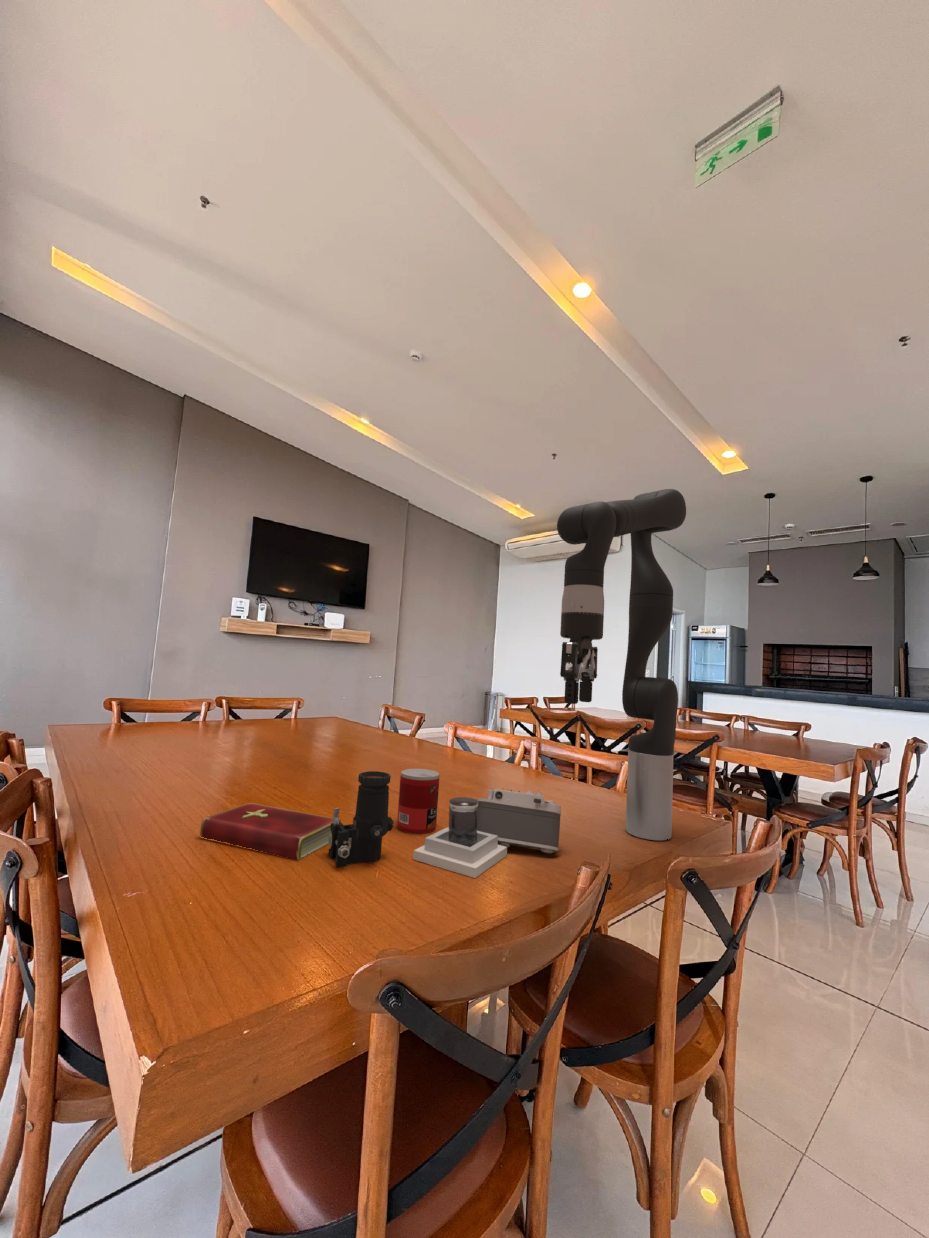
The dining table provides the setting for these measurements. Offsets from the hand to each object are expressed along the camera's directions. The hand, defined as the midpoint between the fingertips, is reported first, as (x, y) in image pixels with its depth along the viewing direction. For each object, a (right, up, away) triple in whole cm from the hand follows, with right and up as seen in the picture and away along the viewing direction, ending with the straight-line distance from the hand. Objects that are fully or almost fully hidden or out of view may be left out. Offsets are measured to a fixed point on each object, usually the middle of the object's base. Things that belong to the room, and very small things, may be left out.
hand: (578, 702), depth 91 cm
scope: (-38, -26, -5) cm, 46 cm away
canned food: (-30, -28, +12) cm, 43 cm away
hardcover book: (-55, -26, +1) cm, 61 cm away
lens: (-21, -25, -2) cm, 33 cm away
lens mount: (-21, -27, -2) cm, 34 cm away
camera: (-11, -28, +6) cm, 31 cm away
